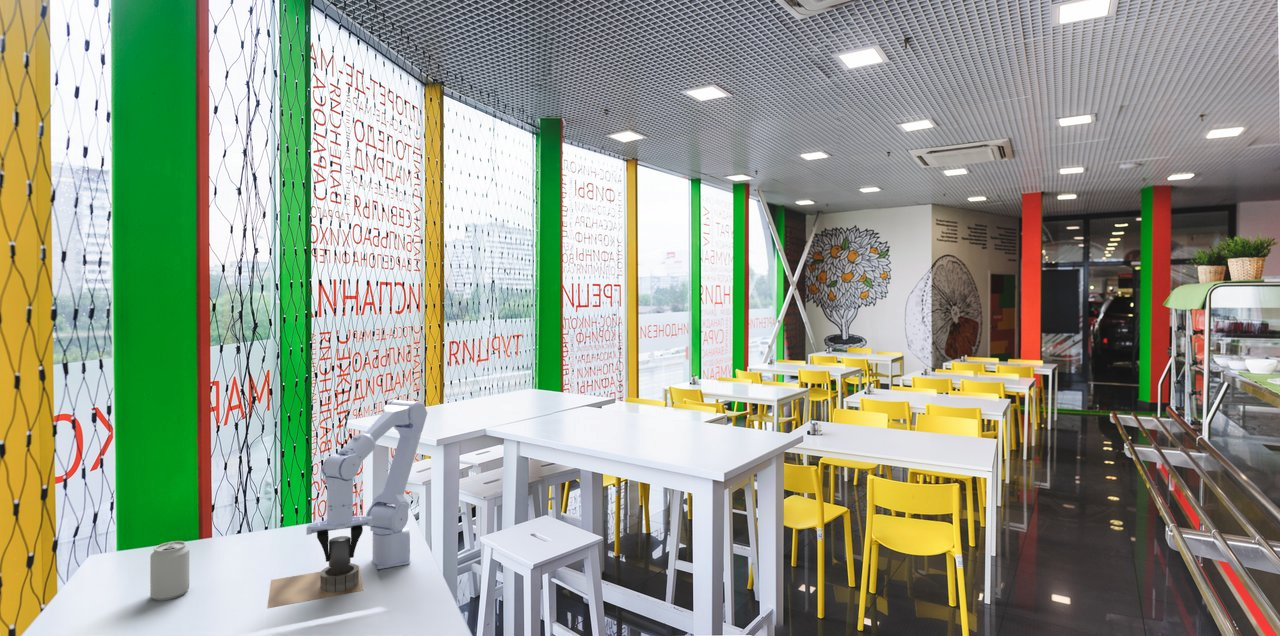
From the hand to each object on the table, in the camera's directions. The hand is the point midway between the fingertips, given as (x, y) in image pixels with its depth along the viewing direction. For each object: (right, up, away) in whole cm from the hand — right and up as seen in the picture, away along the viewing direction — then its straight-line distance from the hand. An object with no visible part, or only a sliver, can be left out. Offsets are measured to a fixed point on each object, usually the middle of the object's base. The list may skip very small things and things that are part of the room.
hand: (339, 558), depth 152 cm
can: (-38, -7, -4) cm, 39 cm away
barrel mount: (-5, -7, 0) cm, 9 cm away
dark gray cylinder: (0, -1, 0) cm, 1 cm away
